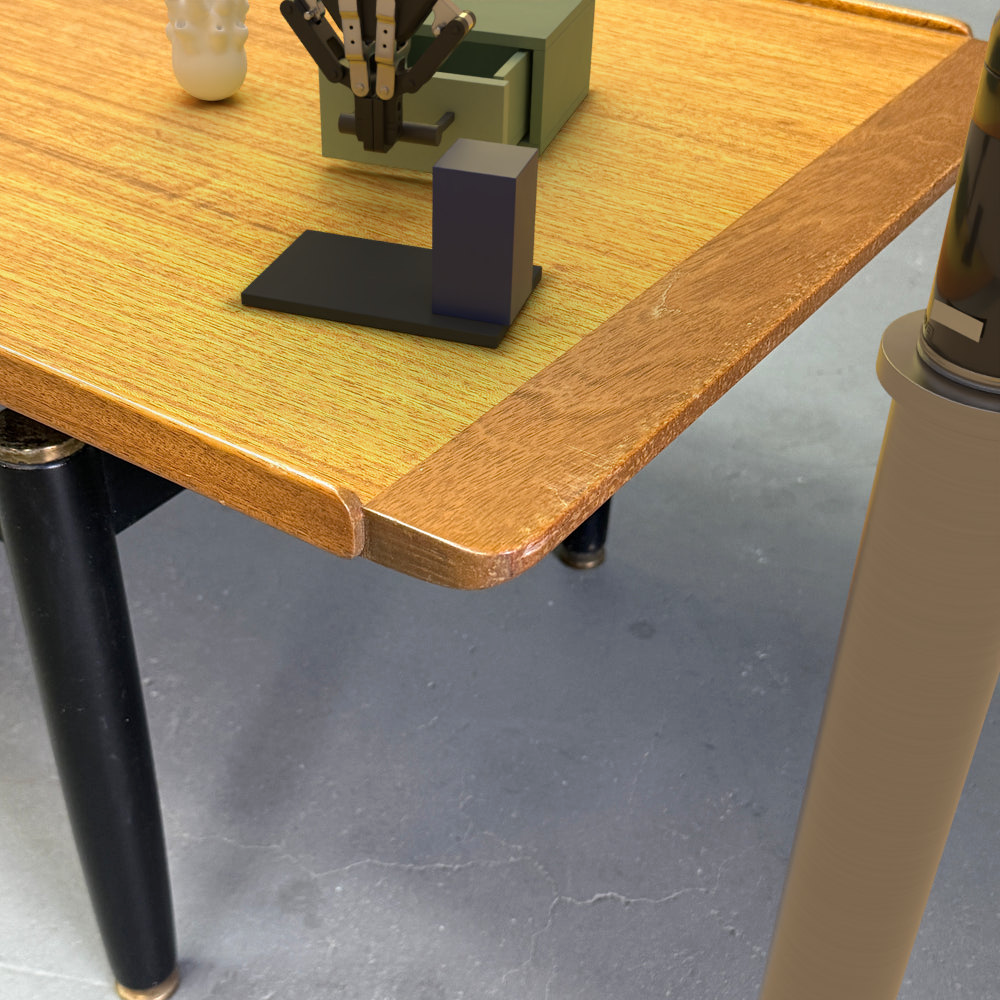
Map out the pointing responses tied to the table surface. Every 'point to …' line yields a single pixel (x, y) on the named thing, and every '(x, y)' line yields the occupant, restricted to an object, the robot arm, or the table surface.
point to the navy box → (483, 230)
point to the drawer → (440, 106)
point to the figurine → (208, 46)
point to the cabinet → (539, 53)
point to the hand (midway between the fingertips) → (379, 148)
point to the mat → (364, 287)
